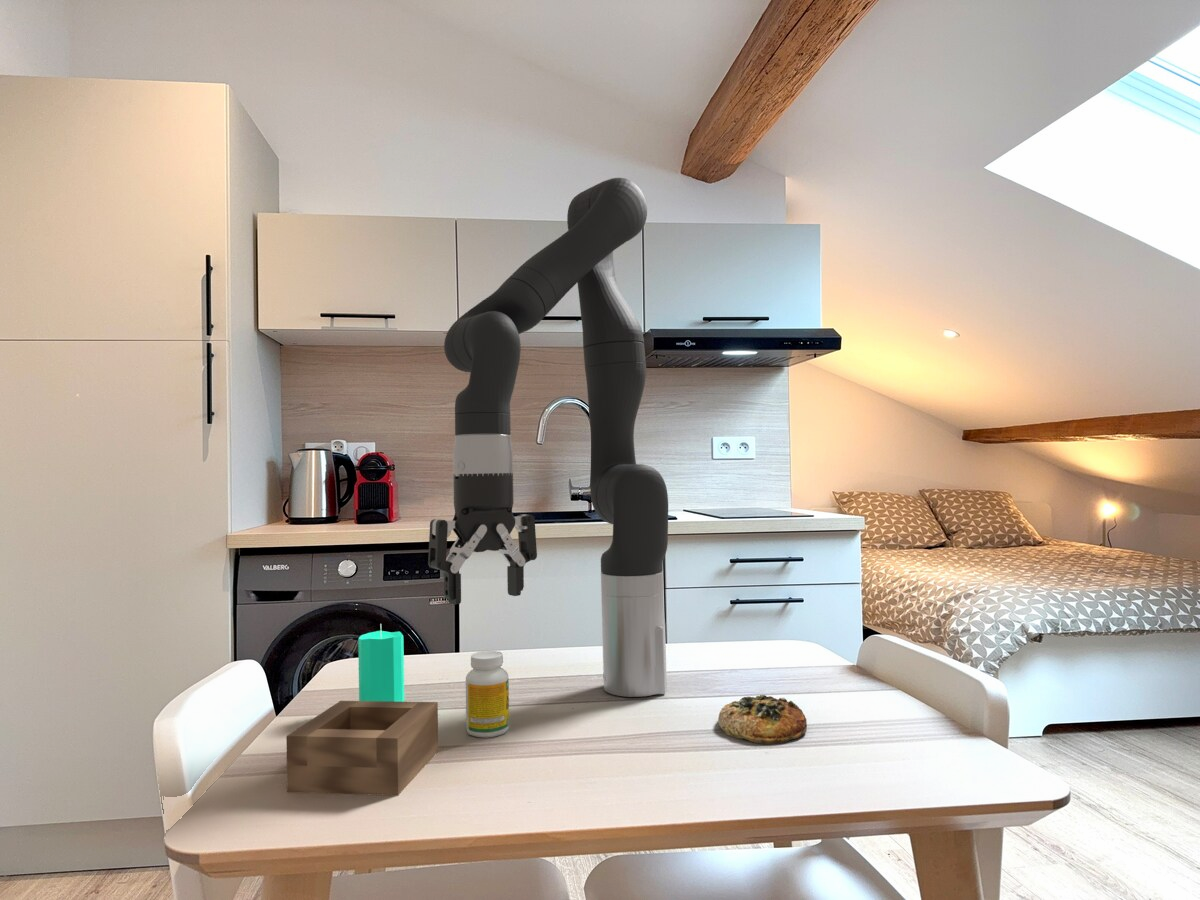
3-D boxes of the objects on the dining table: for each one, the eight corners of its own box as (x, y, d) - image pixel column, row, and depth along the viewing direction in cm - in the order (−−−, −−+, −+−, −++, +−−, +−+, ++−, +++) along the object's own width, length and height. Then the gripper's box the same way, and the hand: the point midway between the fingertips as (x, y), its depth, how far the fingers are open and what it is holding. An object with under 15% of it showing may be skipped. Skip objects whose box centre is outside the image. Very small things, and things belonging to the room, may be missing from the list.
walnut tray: (438, 753, 88) (437, 702, 88) (398, 798, 76) (397, 738, 76) (341, 751, 89) (340, 700, 89) (286, 794, 77) (286, 735, 77)
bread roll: (817, 720, 95) (812, 682, 95) (796, 763, 85) (792, 720, 85) (733, 712, 100) (728, 676, 100) (705, 752, 90) (700, 712, 90)
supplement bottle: (461, 728, 95) (460, 652, 96) (501, 721, 98) (500, 647, 98) (473, 741, 90) (472, 661, 91) (515, 733, 93) (513, 656, 93)
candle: (392, 719, 100) (390, 628, 100) (350, 717, 101) (349, 627, 101) (412, 705, 105) (410, 619, 106) (373, 703, 107) (371, 619, 107)
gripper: (516, 471, 102) (517, 590, 102) (418, 472, 94) (419, 602, 93) (546, 470, 96) (548, 596, 96) (445, 471, 88) (446, 610, 87)
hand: (485, 599), depth 95 cm, fingers open, 8 cm apart
